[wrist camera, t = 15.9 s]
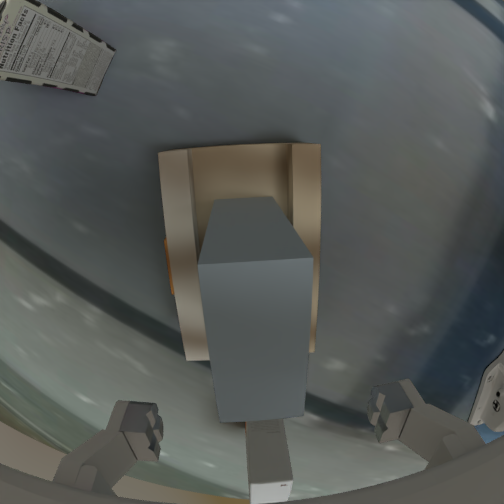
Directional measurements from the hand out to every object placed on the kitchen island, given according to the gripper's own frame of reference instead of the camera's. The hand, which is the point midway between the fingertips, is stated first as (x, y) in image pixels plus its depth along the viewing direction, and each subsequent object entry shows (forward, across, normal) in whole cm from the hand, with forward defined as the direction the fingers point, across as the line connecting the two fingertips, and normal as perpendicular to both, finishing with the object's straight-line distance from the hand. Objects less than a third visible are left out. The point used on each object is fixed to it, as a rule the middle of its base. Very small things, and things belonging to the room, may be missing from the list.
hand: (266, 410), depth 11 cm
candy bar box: (+19, +16, -19) cm, 31 cm away
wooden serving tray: (+19, 0, 0) cm, 19 cm away
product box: (+16, 0, 0) cm, 16 cm away
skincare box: (+20, 0, +22) cm, 30 cm away
